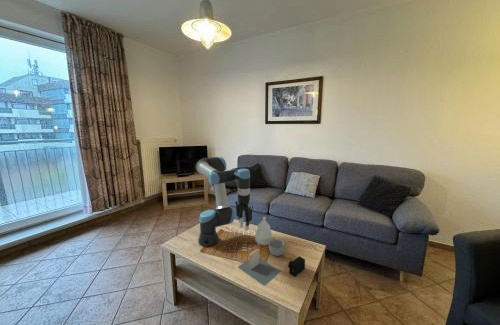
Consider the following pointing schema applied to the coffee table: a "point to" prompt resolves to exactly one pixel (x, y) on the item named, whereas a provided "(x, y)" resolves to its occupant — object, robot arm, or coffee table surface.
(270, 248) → the teacup
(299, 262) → the digital camera
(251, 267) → the tile
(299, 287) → the coffee table surface
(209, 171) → the robot arm
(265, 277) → the mat
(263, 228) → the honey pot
